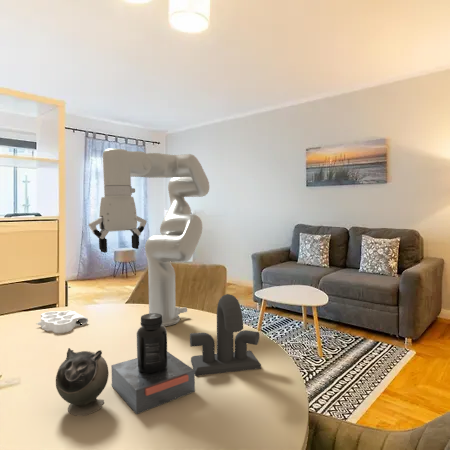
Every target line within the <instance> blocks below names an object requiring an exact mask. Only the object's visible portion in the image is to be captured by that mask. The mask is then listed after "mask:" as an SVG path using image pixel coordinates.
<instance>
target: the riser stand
mask: <svg viewBox="0 0 450 450" xmlns="http://www.w3.org/2000/svg"><path fill="white" fill-rule="evenodd" d="M195 377H196V376H195V370H194V369H193V367H190V365H188V364H186V363H185V362H183V360H180V359H179V358H177V357H176V356H175V355H173V354H172V353H170V352H169V351H167V367H166V368H165V369H164V370H162V371H160V372H156V373H143V372H141V371H140V370H139V369H138V366H137V357H135V358H132V359H129V360H128V359H127V360H124V361H122V362H117V363H115V364H111V387H112V388H113V389H114V390H115V392H116V393H117V394H118V395H119V396H120V397H121V398H122V400H123V401H124V402H125V403H126V404H127V406H129V408H131V410H132V411H133V412H134V413H135V415H138V414H140V413H143V412H146V411H148V410H151V409H153V408H157V407H158V406H161V405H163V404H164V405H165V404H166V403H169V402H172V401H174V400H177V399H179V398H181V397H182V398H183V397H184V396H187V395H190V394H192V393H194V392H195V391H196V386H195V384H196V383H195V381H196V380H195V379H196V378H195Z"/></svg>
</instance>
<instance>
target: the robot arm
mask: <svg viewBox="0 0 450 450" xmlns="http://www.w3.org/2000/svg"><path fill="white" fill-rule="evenodd" d="M102 168H103V169H102V171H103V192H104V193H103V194H104V195H103V196H102V197H101V198H100V203H99V204H100V205H99V218H97V219H95V220H93V221H91V222H89V223H88V228H90V230H91V232H92V234H93V235H94V236H96V237H97V238H98V247H99V251H100V253H105V254H106V253H107V252H108V239H107V238H106V236H107V235H108V233H109V232H123V231H124V232H125V231H130V232H131V233H132V234H131V248H132V249H136V250H137V249H139V247H140V236H141V234H142V232H144V230H145V227H146V225H147V222H148V221H147V220H146V219H144V218H143V217H140V216H138V214H137V209H136V203H135V198H134V196H132V195H133V193H135V192H136V188H134V187H132V182H131V181H132V179H131V178H132V177H133V178H134V177H135V178H139V177H140V178H149V179H150V178H153V179H155V178H156V179H157V178H161V179H164V178H169V181H168V184H167V189H168V195H169V201H170V205H169V208H168V210H167V212H166V214H165V216H164V218H163V220H162V222H161V224H160V226H159V228H160V229H159V232H160V234H153V235H152V236H150V237H148V239H147V240H146V242H145V245H144V247H145V249H144V250H145V255H146V260H147V267H148V268H147V269H148V270H147V271H148V272H147V273H148V314H150V313H158V314H161V315H162V321H163V323H162V324H161V325H163V326H164V327H169V326H174V325H175V324H176V325H177V324H178V323H179V322H180V320H181V319H180V318H181V317H180V314H185V313H187V312H188V308H187V307H186V306H185V307H181V306H176V271H175V268H174V266H173V265H172V263H187V262H189V261H190V260H191V259H192V258H193V255H194V254H195V253H194V252H195V251H196V248H197V246H198V244H199V241H200V240H201V236H202V232H203V222H202V219H201V217H199V216H198V215H197V214H193V213H192V212H191V211H192V210H191V207H190V204H189V203H188V202H187V201H186V199H185V198H200V197H201V198H202V197H206V195H208V193H209V192H210V182H209V179H208V175H206V172H205V170H204V169H203V166H202V164H201V162H200V161H199V159H198V158H197V157H196V156H195V155H194V154H191V153H187V154H167V153H161V152H147V153H146V152H144V151H140V150H137V151H133V150H130V151H129V150H127V149H123V148H107V149H105V150H104V151H103V153H102ZM170 178H171V179H170ZM191 213H192V214H191ZM138 223H139V226H138ZM97 226H99V229H100V230H99V229H97Z"/></svg>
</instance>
